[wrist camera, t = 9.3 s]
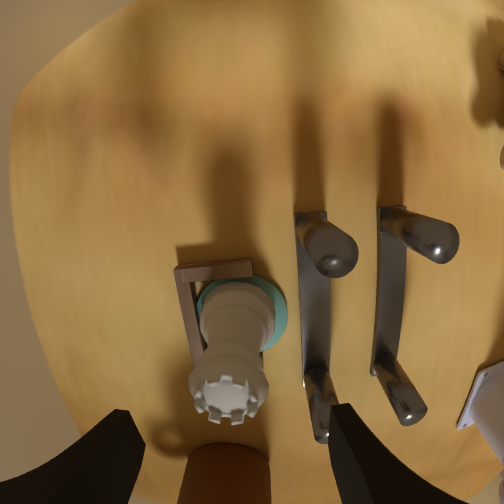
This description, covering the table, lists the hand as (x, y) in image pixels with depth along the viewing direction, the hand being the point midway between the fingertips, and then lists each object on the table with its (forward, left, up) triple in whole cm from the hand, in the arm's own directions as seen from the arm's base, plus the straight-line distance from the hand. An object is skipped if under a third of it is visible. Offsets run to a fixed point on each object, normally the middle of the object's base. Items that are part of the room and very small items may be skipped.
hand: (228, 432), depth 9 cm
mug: (+5, +17, -10) cm, 20 cm away
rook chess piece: (0, 0, -10) cm, 10 cm away
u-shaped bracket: (0, 0, -10) cm, 10 cm away
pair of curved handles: (-7, 0, -10) cm, 12 cm away
